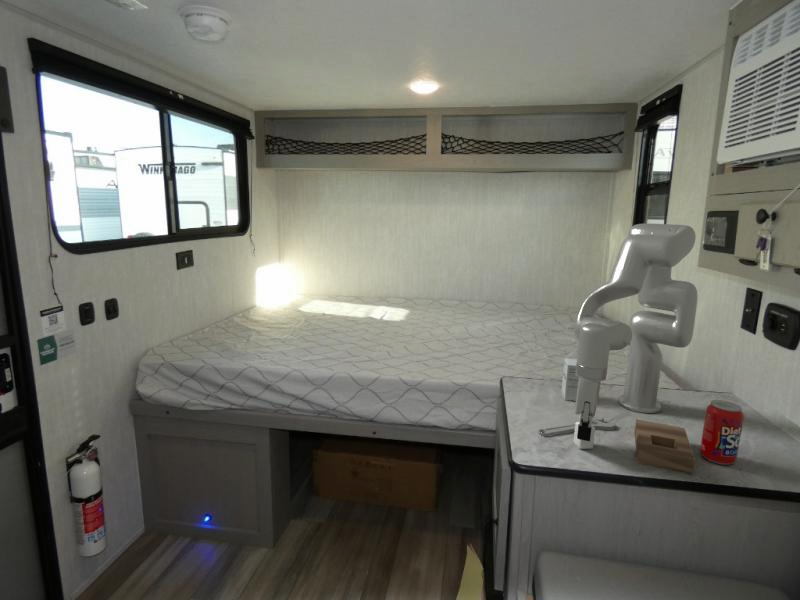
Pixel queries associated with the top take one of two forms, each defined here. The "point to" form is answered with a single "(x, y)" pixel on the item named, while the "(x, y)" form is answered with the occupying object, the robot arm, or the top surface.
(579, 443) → the pepper shaker
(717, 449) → the soda can
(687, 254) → the robot arm
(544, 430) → the adjustable wrench
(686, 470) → the socket block
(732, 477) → the top surface
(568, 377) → the supplement box
